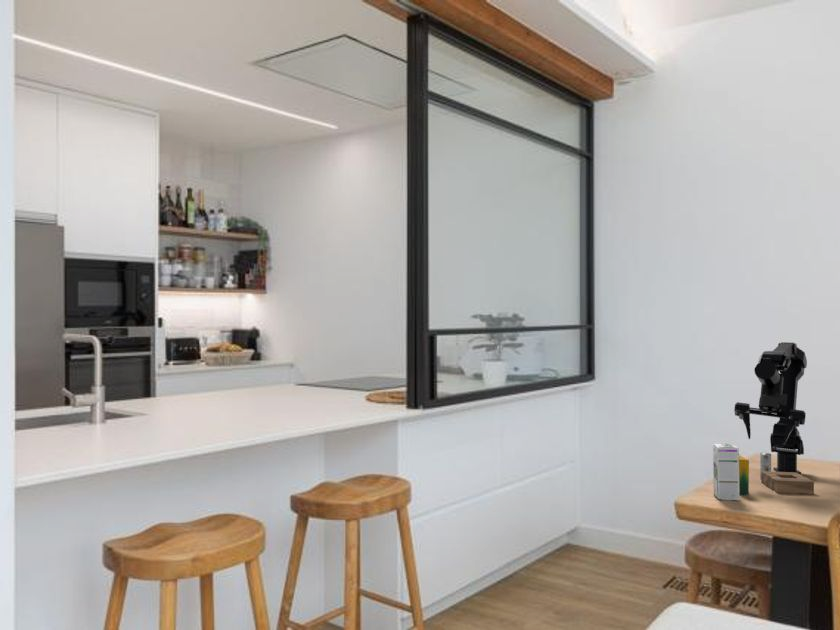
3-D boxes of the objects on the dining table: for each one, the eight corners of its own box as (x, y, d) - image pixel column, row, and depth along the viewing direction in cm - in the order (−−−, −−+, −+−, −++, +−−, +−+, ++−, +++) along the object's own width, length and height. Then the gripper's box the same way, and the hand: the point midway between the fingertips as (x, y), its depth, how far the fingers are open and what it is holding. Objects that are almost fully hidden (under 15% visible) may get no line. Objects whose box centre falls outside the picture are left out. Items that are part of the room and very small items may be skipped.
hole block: (761, 483, 210) (761, 471, 210) (796, 484, 208) (796, 472, 208) (776, 492, 198) (776, 480, 198) (813, 494, 196) (813, 481, 196)
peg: (758, 478, 216) (758, 452, 216) (769, 478, 215) (769, 452, 216) (762, 480, 213) (762, 454, 213) (772, 480, 213) (772, 454, 213)
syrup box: (740, 501, 188) (740, 447, 189) (717, 499, 190) (716, 446, 190) (735, 496, 194) (735, 443, 194) (712, 494, 195) (712, 443, 195)
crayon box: (749, 495, 195) (749, 453, 195) (738, 494, 196) (738, 453, 196) (740, 488, 202) (740, 448, 203) (729, 488, 203) (729, 448, 203)
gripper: (736, 378, 207) (730, 428, 202) (808, 386, 198) (804, 439, 193) (737, 390, 216) (732, 438, 211) (806, 398, 207) (802, 449, 202)
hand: (766, 441), depth 204 cm, fingers open, 9 cm apart
